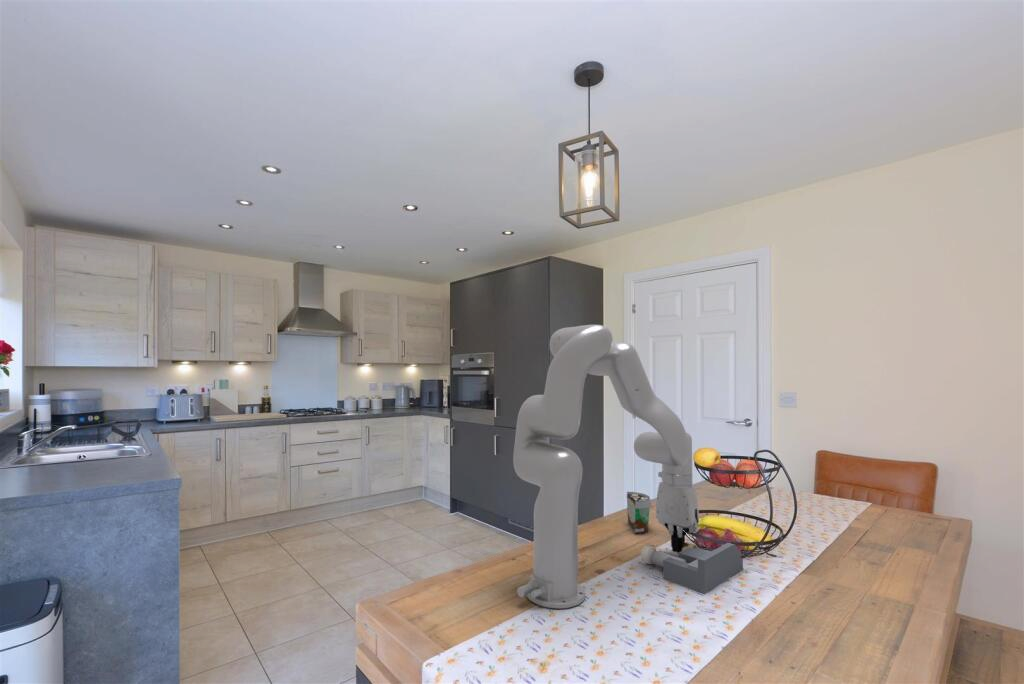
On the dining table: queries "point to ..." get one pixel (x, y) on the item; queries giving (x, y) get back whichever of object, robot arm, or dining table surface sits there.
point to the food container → (638, 512)
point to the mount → (703, 567)
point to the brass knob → (687, 545)
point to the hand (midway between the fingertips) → (678, 550)
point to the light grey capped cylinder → (655, 556)
